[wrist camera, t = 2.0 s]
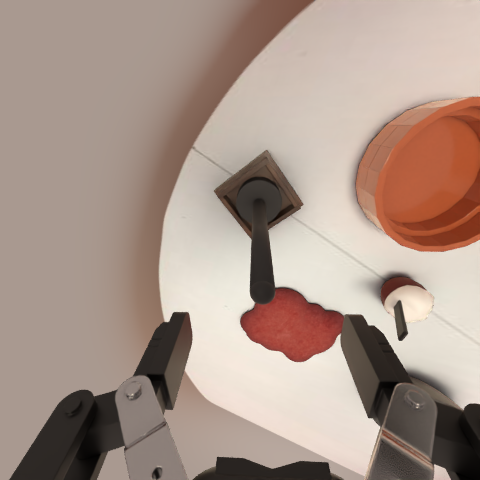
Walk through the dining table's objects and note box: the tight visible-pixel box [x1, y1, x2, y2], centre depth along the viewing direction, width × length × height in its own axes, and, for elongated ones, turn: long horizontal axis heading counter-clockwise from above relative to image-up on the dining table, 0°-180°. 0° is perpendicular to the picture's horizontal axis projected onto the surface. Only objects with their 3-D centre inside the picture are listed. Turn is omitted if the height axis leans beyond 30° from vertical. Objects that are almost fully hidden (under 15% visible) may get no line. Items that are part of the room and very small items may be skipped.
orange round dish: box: [356, 97, 480, 252], centre depth 30 cm, size 17×17×6 cm
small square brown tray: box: [214, 150, 303, 239], centre depth 34 cm, size 9×9×3 cm
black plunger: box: [236, 177, 282, 305], centre depth 25 cm, size 6×6×22 cm
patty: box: [240, 288, 344, 362], centre depth 44 cm, size 18×14×2 cm
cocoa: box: [381, 277, 434, 341], centre depth 35 cm, size 10×6×12 cm, turn 53°
